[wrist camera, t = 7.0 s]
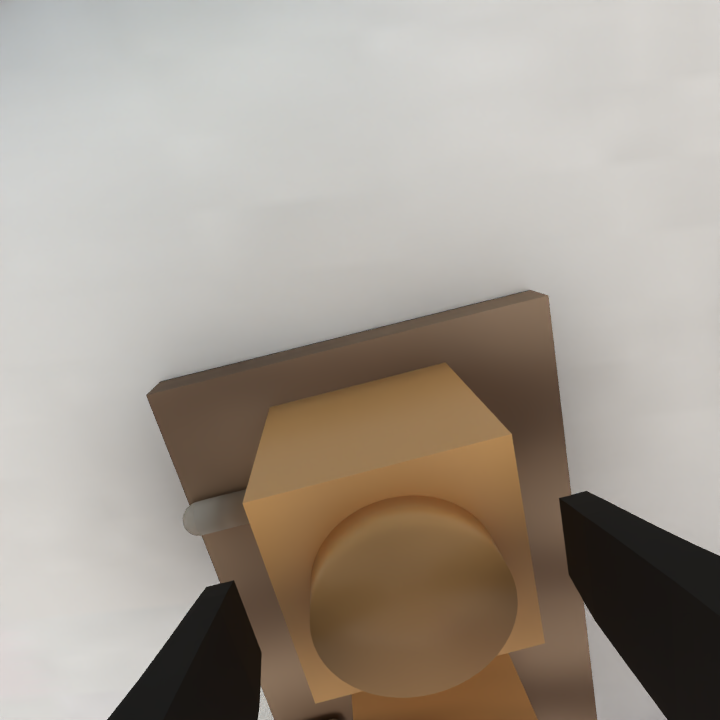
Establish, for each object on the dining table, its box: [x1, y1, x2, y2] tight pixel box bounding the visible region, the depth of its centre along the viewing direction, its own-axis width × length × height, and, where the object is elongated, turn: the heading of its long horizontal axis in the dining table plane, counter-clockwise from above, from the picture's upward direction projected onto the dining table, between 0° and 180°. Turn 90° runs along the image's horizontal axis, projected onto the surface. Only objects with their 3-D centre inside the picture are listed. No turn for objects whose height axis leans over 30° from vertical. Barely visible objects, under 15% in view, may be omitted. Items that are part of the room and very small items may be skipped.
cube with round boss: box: [242, 362, 545, 704], centre depth 12 cm, size 5×5×6 cm
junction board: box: [146, 290, 597, 720], centre depth 14 cm, size 18×12×7 cm
